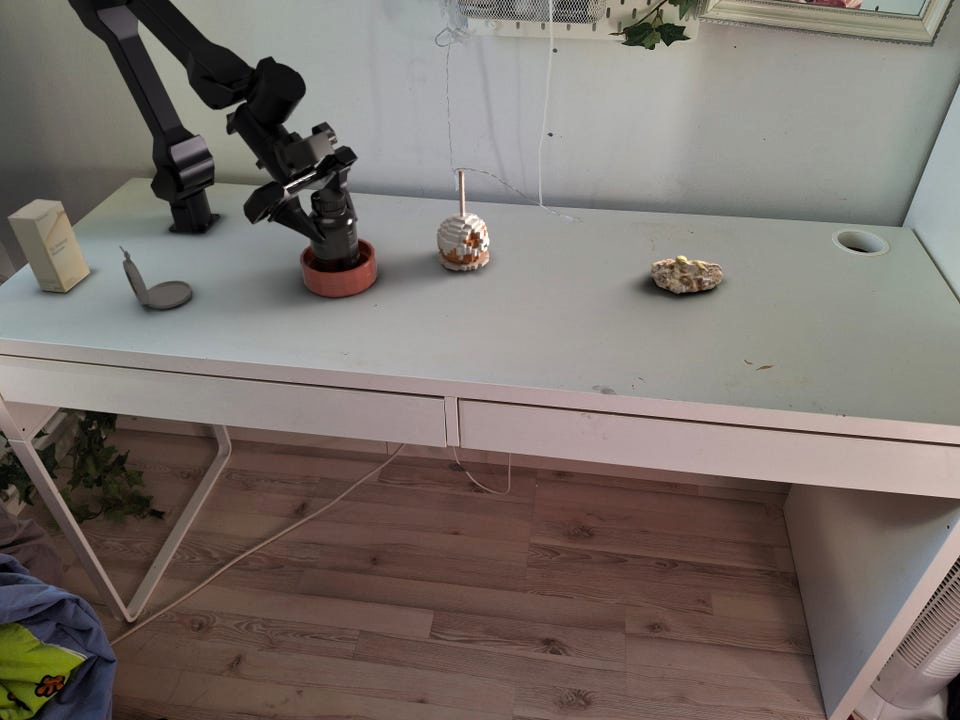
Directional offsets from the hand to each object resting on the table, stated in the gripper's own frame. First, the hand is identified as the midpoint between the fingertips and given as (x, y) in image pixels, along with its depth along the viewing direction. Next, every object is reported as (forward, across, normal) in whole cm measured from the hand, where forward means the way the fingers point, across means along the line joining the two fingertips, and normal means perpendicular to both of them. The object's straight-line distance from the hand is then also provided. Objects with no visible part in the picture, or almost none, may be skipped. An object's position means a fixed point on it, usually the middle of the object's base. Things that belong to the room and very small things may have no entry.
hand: (339, 231), depth 103 cm
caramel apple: (+14, +14, -2) cm, 20 cm away
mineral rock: (+36, +27, -25) cm, 52 cm away
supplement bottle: (+4, 0, +6) cm, 7 cm away
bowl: (+5, 0, +7) cm, 8 cm away
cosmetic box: (-20, -23, +32) cm, 44 cm away
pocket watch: (-8, -18, +20) cm, 28 cm away
